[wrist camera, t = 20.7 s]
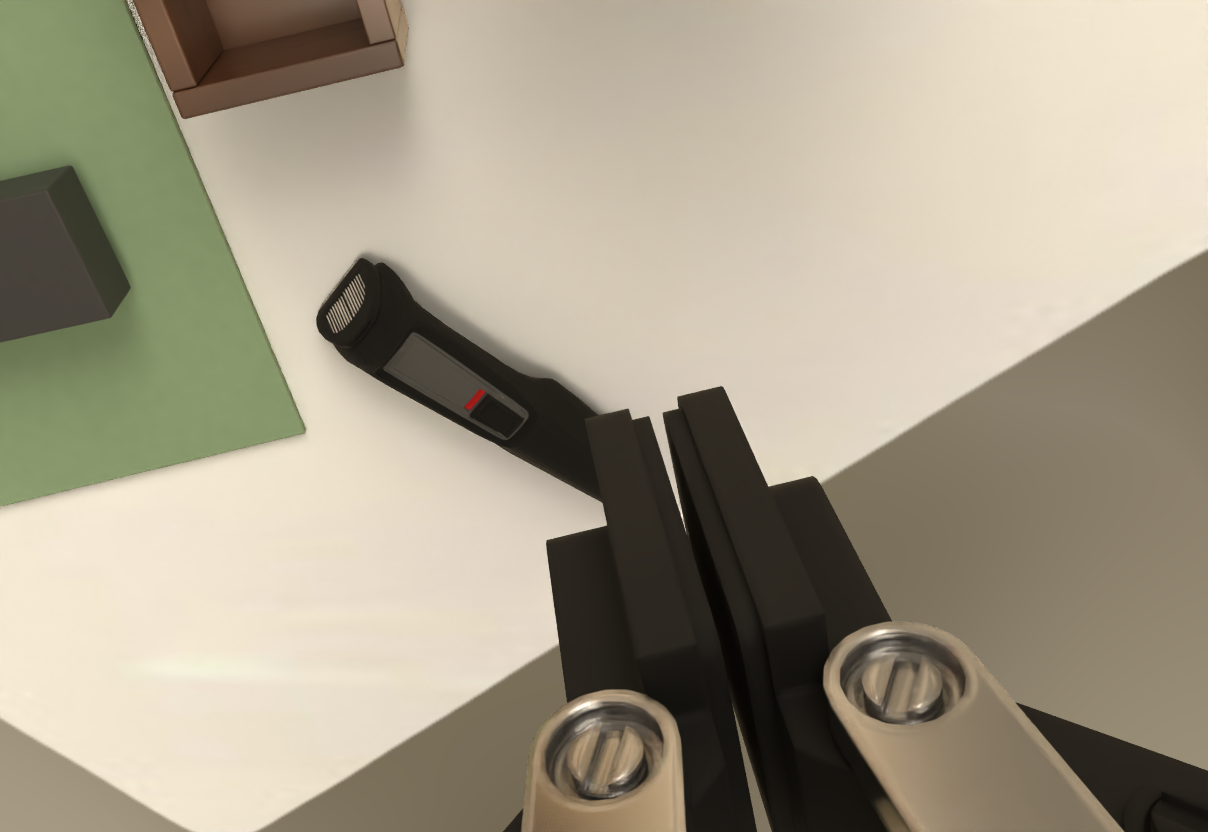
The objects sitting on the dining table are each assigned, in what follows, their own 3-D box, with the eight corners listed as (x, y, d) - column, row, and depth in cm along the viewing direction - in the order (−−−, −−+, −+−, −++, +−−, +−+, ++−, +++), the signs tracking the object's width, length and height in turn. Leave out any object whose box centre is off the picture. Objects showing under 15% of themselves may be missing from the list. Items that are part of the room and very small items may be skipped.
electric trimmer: (619, 510, 47) (631, 556, 44) (310, 318, 40) (302, 359, 38) (676, 451, 46) (692, 495, 43) (368, 243, 39) (364, 280, 36)
